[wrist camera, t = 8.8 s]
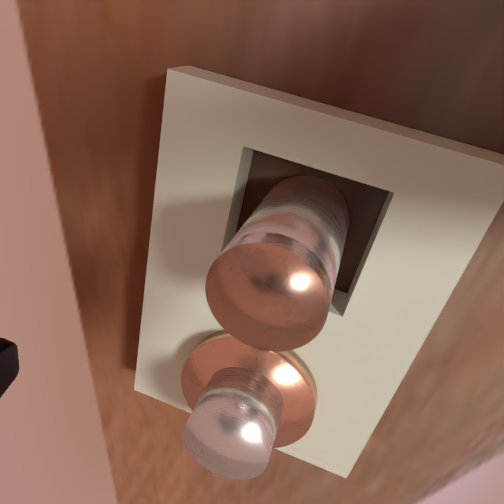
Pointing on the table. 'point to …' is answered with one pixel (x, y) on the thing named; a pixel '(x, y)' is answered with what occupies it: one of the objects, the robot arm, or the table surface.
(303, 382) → the copper flanged knob
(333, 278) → the loose cylinder
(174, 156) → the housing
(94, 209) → the table surface
